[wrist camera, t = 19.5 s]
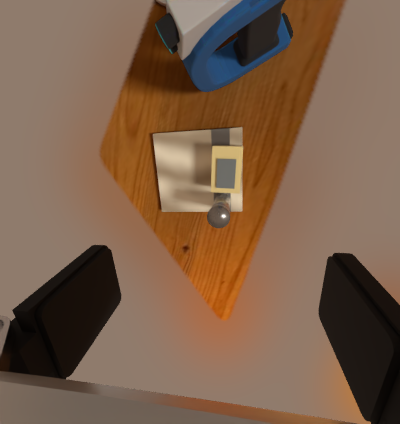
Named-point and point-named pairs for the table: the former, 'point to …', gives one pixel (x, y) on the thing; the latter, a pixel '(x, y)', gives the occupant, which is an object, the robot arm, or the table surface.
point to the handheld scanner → (223, 37)
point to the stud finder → (226, 168)
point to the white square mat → (191, 168)
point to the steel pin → (219, 211)
